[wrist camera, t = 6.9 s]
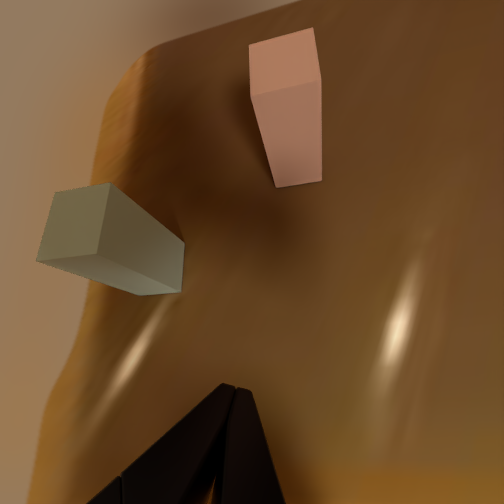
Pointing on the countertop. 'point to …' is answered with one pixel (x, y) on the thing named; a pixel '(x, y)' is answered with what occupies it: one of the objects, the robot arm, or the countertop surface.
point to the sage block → (111, 241)
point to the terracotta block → (288, 105)
